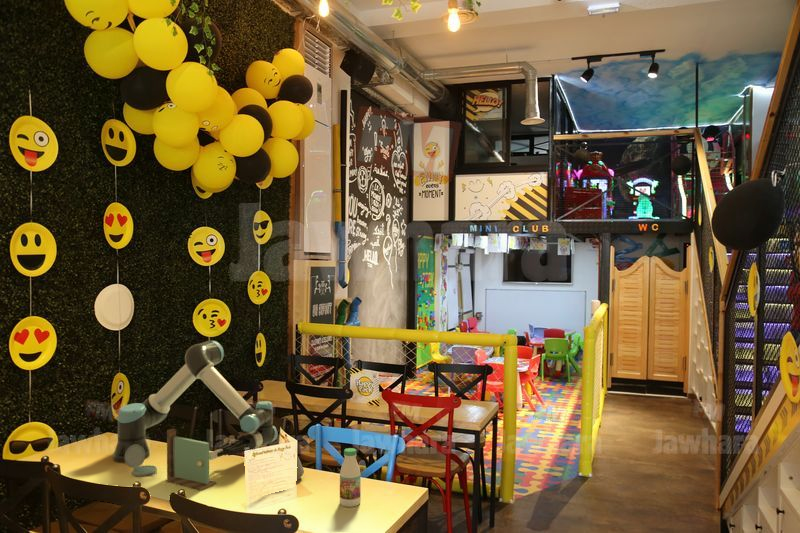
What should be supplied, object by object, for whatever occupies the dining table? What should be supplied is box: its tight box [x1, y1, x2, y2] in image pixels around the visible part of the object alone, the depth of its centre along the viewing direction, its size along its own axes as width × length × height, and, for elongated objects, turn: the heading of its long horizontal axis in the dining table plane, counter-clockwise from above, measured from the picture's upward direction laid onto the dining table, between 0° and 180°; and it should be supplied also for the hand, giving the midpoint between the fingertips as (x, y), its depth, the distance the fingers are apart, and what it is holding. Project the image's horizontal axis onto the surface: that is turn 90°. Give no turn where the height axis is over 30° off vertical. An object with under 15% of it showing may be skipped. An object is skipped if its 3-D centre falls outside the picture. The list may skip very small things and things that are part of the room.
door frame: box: [165, 428, 218, 491], centre depth 245 cm, size 22×8×20 cm, turn 61°
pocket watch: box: [124, 444, 158, 478], centre depth 257 cm, size 10×11×15 cm
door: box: [173, 435, 210, 484], centre depth 244 cm, size 19×4×16 cm, turn 61°
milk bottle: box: [339, 447, 362, 508], centre depth 224 cm, size 8×8×20 cm
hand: (210, 456), depth 250 cm, fingers closed
